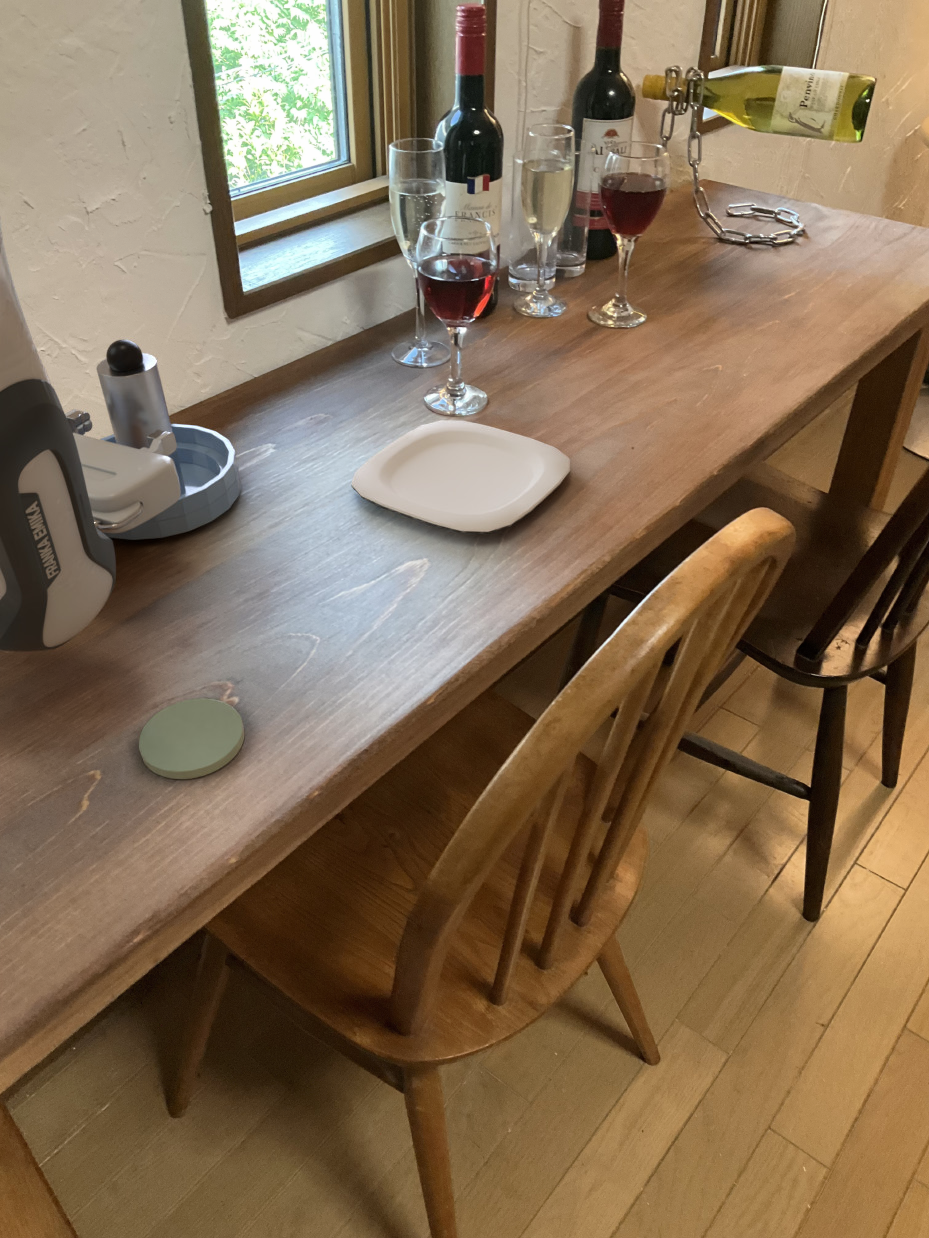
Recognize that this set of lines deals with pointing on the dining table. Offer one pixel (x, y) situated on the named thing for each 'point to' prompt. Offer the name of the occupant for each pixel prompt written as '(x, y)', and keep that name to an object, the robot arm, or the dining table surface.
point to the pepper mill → (134, 397)
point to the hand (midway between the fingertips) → (126, 428)
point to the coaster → (191, 738)
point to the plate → (462, 476)
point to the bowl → (194, 484)
